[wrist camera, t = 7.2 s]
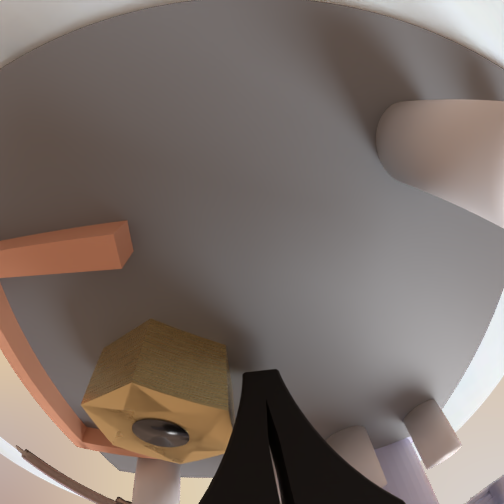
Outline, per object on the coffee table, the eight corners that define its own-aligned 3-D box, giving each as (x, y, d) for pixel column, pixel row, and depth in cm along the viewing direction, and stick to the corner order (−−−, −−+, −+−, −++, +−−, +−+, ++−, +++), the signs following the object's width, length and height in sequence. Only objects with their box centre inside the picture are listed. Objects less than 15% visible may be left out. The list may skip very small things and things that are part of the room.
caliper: (176, 498, 22) (175, 541, 16) (175, 500, 22) (174, 542, 16) (16, 443, 17) (3, 481, 11) (18, 446, 17) (6, 483, 12)
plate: (423, 420, 18) (447, 465, 13) (120, 461, 16) (113, 515, 11) (513, 84, 7) (591, 95, 2) (-29, 99, 6) (-117, 112, 1)
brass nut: (236, 409, 12) (240, 464, 9) (135, 409, 11) (126, 460, 9) (221, 314, 9) (222, 383, 7) (91, 319, 9) (60, 377, 6)
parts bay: (199, 443, 13) (198, 460, 12) (81, 432, 13) (77, 446, 11) (127, 220, 8) (113, 234, 7) (-25, 246, 7) (-41, 257, 6)
